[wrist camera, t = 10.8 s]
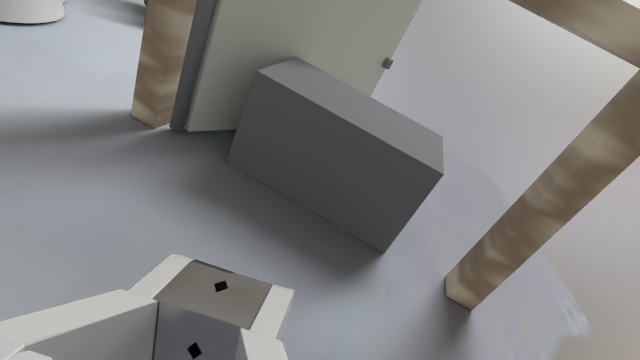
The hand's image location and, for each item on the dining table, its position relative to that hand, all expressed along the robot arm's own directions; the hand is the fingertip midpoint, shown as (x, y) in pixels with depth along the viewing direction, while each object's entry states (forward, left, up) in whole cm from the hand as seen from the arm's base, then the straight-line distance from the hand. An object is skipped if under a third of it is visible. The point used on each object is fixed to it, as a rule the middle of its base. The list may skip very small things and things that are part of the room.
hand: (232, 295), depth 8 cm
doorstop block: (-1, +24, -11) cm, 26 cm away
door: (-8, +31, -10) cm, 34 cm away
